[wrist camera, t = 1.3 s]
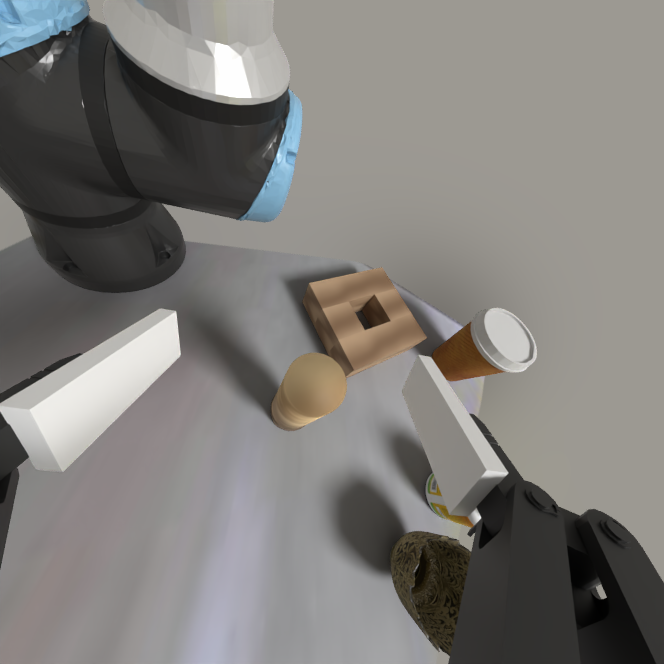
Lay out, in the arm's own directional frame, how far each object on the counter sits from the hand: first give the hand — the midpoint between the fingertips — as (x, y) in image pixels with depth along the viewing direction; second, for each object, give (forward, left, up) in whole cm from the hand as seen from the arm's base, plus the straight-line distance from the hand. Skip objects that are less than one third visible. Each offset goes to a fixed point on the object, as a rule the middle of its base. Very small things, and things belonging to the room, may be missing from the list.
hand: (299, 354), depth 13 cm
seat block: (-7, +17, -19) cm, 27 cm away
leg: (+1, +1, -20) cm, 20 cm away
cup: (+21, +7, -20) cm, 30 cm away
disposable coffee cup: (+5, +30, -20) cm, 37 cm away
